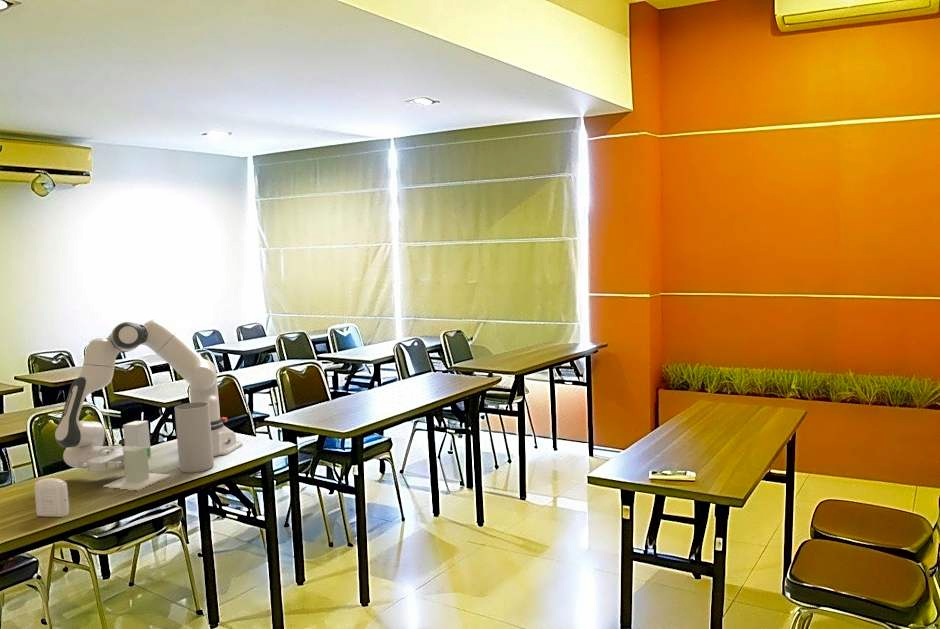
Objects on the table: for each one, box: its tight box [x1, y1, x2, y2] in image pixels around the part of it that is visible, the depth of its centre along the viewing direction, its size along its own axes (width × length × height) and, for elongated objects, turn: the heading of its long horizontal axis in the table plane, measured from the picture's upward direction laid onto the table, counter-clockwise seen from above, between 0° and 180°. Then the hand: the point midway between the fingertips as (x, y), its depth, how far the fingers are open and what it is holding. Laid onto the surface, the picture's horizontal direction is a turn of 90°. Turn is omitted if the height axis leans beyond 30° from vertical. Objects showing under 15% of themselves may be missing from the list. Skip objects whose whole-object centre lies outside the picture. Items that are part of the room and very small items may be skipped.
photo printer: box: [34, 477, 70, 518], centre depth 238 cm, size 10×4×12 cm, turn 81°
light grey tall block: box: [123, 447, 150, 483], centre depth 269 cm, size 6×6×12 cm
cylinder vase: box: [174, 402, 215, 474], centre depth 283 cm, size 12×12×25 cm
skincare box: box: [122, 420, 152, 459], centre depth 299 cm, size 8×7×16 cm
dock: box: [103, 472, 171, 492], centre depth 270 cm, size 16×16×7 cm
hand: (130, 460), depth 270 cm, fingers open, 8 cm apart
